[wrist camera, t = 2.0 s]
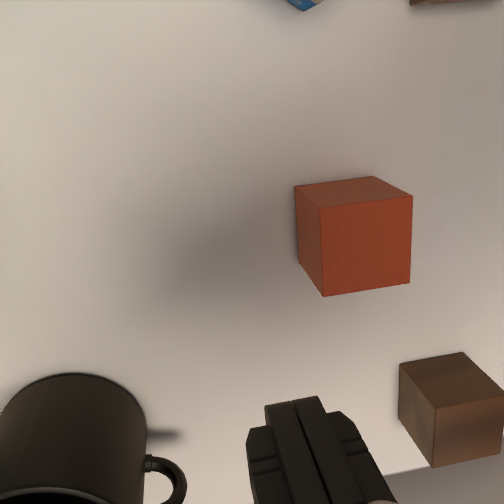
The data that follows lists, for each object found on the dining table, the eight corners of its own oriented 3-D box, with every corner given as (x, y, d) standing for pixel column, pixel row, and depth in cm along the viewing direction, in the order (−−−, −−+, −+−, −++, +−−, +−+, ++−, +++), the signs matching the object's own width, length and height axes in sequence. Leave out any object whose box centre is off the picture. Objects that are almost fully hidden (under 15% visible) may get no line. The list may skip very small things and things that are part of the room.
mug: (177, 484, 35) (180, 614, 26) (0, 487, 32) (-59, 632, 24) (191, 375, 32) (200, 484, 23) (-4, 369, 29) (-72, 488, 21)
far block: (399, 363, 34) (435, 409, 30) (463, 351, 35) (508, 394, 30) (398, 418, 36) (431, 469, 31) (458, 406, 37) (500, 454, 32)
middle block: (294, 186, 28) (319, 208, 23) (374, 175, 29) (413, 195, 24) (299, 263, 30) (323, 297, 25) (373, 251, 31) (410, 283, 26)
